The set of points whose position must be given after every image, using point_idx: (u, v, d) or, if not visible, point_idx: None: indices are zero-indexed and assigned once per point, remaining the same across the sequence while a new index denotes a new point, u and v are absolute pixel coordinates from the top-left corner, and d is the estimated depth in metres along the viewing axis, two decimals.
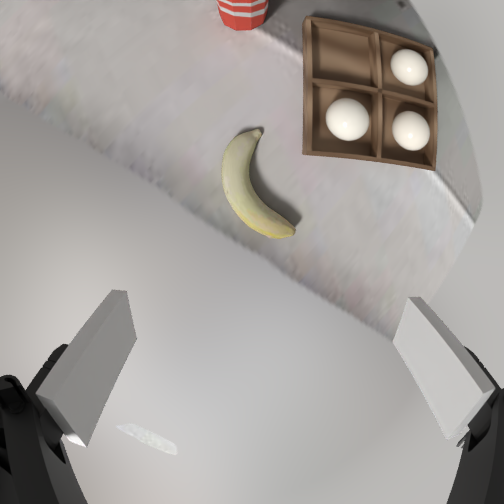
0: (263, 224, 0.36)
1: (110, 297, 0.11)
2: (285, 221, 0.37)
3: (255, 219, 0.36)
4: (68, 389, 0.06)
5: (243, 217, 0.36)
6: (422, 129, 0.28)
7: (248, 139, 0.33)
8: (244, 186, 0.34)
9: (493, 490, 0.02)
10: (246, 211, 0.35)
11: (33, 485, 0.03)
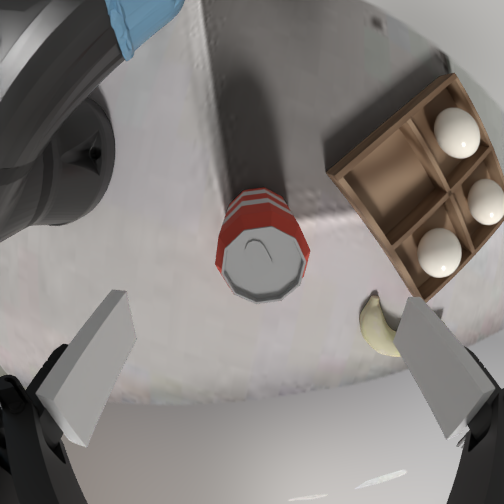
0: None
1: (110, 297, 0.11)
2: None
3: None
4: (68, 389, 0.06)
5: None
6: (501, 206, 0.21)
7: (374, 314, 0.31)
8: None
9: (493, 490, 0.02)
10: None
11: (33, 485, 0.03)
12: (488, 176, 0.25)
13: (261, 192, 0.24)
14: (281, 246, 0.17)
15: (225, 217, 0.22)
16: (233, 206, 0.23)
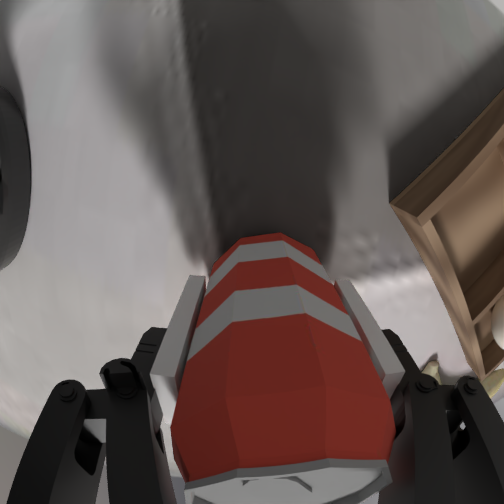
0: None
1: (191, 282, 0.13)
2: (495, 378, 0.19)
3: None
4: (180, 366, 0.08)
5: None
6: None
7: None
8: None
9: (422, 494, 0.03)
10: None
11: (133, 477, 0.04)
12: None
13: (277, 253, 0.11)
14: (342, 472, 0.04)
15: (198, 321, 0.10)
16: (217, 288, 0.11)
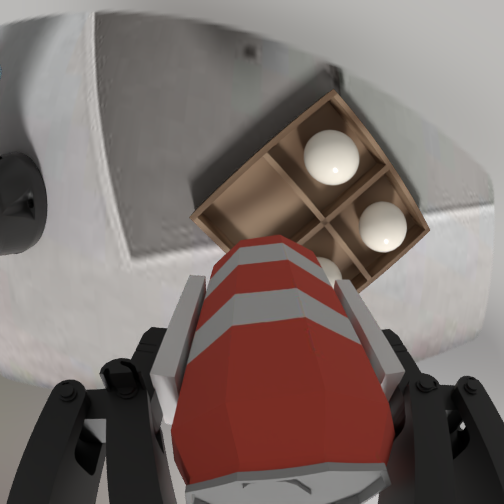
0: None
1: (191, 282, 0.13)
2: None
3: None
4: (181, 366, 0.08)
5: None
6: (393, 233, 0.26)
7: None
8: None
9: (422, 494, 0.03)
10: None
11: (133, 477, 0.04)
12: (396, 196, 0.30)
13: (277, 256, 0.11)
14: (341, 475, 0.04)
15: (198, 324, 0.10)
16: (217, 291, 0.11)
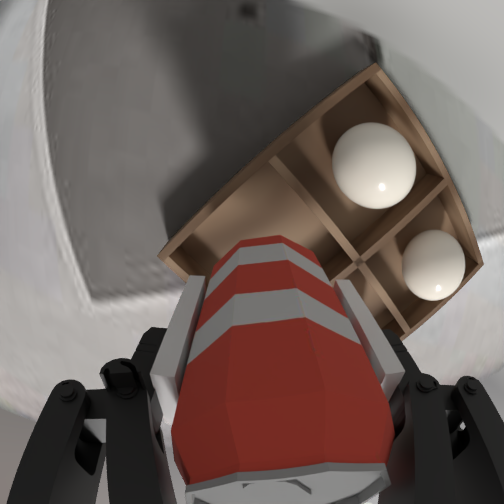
0: None
1: (191, 282, 0.12)
2: None
3: None
4: (180, 366, 0.08)
5: None
6: (452, 278, 0.16)
7: None
8: None
9: (422, 494, 0.03)
10: None
11: (133, 477, 0.04)
12: (446, 219, 0.20)
13: (277, 256, 0.11)
14: (341, 475, 0.04)
15: (198, 324, 0.10)
16: (217, 291, 0.11)
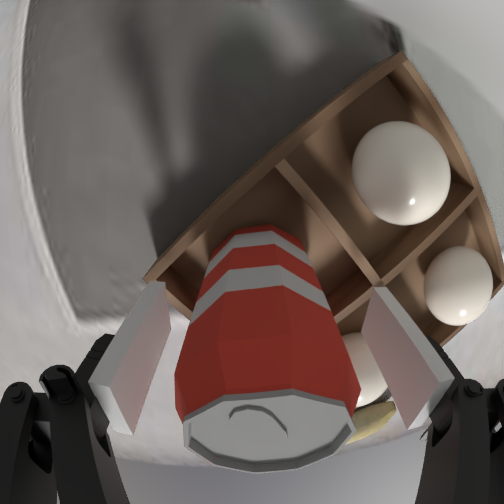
0: (361, 436, 0.23)
1: (149, 288, 0.12)
2: (377, 413, 0.23)
3: (350, 441, 0.23)
4: (121, 376, 0.07)
5: None
6: (481, 303, 0.13)
7: None
8: None
9: (462, 490, 0.03)
10: None
11: (78, 480, 0.03)
12: (471, 232, 0.17)
13: (266, 241, 0.14)
14: (309, 412, 0.07)
15: (199, 296, 0.12)
16: (215, 269, 0.13)
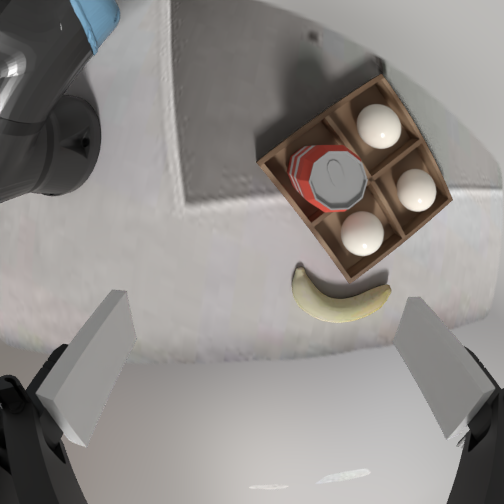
0: (369, 310, 0.38)
1: (110, 297, 0.11)
2: (378, 290, 0.38)
3: (361, 314, 0.38)
4: (68, 389, 0.06)
5: None
6: (427, 192, 0.28)
7: (301, 284, 0.38)
8: (334, 309, 0.38)
9: (492, 490, 0.02)
10: (352, 317, 0.38)
11: (33, 485, 0.03)
12: (425, 169, 0.32)
13: None
14: (351, 167, 0.22)
15: (297, 156, 0.27)
16: (301, 151, 0.28)
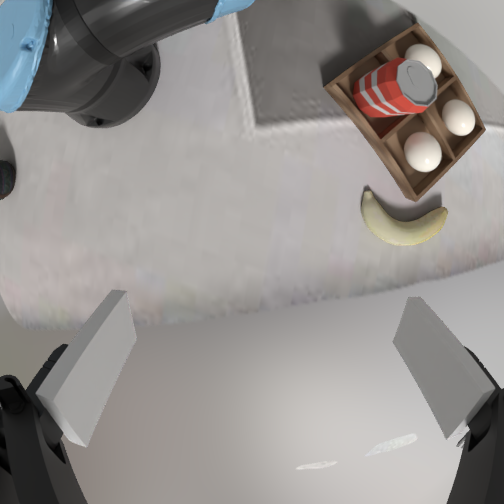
0: (433, 230, 0.35)
1: (110, 297, 0.11)
2: (437, 211, 0.35)
3: (427, 234, 0.35)
4: (68, 389, 0.06)
5: (420, 242, 0.36)
6: (469, 116, 0.26)
7: (371, 205, 0.35)
8: (404, 230, 0.35)
9: (493, 490, 0.02)
10: (419, 238, 0.36)
11: (33, 485, 0.03)
12: None
13: None
14: (424, 74, 0.19)
15: (370, 73, 0.25)
16: (370, 72, 0.26)
